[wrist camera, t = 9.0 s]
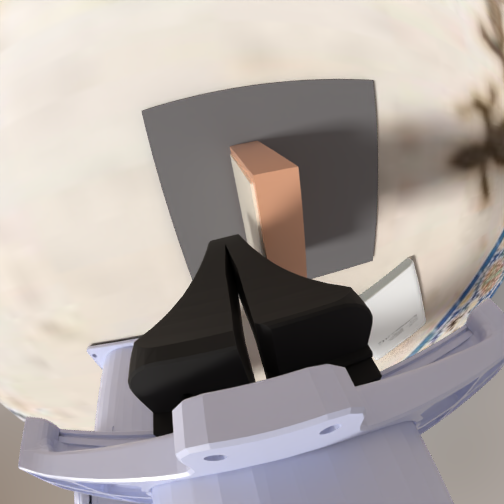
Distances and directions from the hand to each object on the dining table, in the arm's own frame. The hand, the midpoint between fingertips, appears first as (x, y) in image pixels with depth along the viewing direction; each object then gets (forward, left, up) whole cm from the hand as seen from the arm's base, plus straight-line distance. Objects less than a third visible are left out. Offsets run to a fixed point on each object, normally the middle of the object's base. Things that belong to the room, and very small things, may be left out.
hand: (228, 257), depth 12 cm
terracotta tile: (0, -2, -5) cm, 6 cm away
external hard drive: (-16, -15, -6) cm, 23 cm away
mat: (0, -4, -6) cm, 7 cm away
